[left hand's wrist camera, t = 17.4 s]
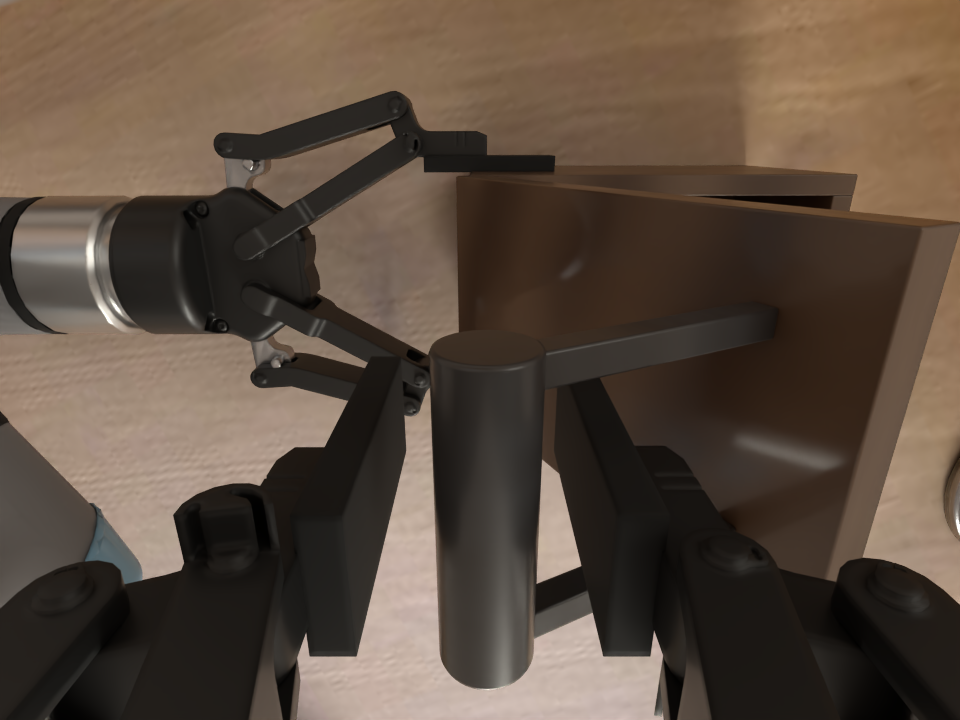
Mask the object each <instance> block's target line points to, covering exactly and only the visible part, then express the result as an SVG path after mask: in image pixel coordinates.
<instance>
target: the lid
mask: <svg viewBox="0 0 960 720" xmlns="http://www.w3.org/2000/svg"><path fill="white" fill-rule="evenodd" d="M959 232H960V223H959V222H953V221H943V220H932V219H922V218H912V217H902V216H892V215H881V214H871V213H861V212H851V211H840V210H830V209H820V208H810V207H799V206H789V205H779V204H769V203H758V202H748V201H738V200H728V199H718V198H707V197H697V196H687V195H677V194H666V193H656V192H646V191H636V190H625V189H615V188H605V187H595V186H584V185H574V184H564V183H554V182H543V181H533V180H523V179H513V178H503V177H492V176H457V241H458V306H459V333H455V334H451V335H448V336H445V337H443V338H440V339H439V340H437V341H436V342H434V343H433V344H432V346H431V348H430V351H429V367H430V395H431V423H432V451H433V479H434V506H435V534H436V562H437V590H438V618H439V646H440V656H441V660H442V663H443V665H444V667H445V668H446V670H447V671H448V672H449V674H450V675H451V676H452V677H453V678H454V679H455V680H457V681H458V682H460V683H461V684H463V685H465V686H468V687H471V688H474V689H479V690H495V689H500V688H504V687H506V686H509V685H511V684H512V683H514V682H516V681H517V680H518V679H520V678H521V677H522V676H523V674H524V673H525V672H526V671H527V669H528V668H529V666H530V664H531V661H532V658H533V650H534V639H535V638H537V637H539V636H541V635H544V634H546V633H548V632H550V631H553V630H555V629H557V628H559V627H561V626H564V625H566V624H568V623H570V622H573V621H575V620H577V619H579V618H582V617H584V616H586V615H588V614H591V613H593V611H592V607H591V603H590V599H589V594H588V590H587V586H586V582H585V578H584V574H583V570H582V566H581V567H578V568H576V569H573V570H571V571H568V572H565V573H563V574H560V575H558V576H555V577H553V578H550V579H548V580H545V581H543V582H540V583H538V584H536V582H537V559H538V536H539V513H540V490H541V467H542V460H544V461H545V462H546V463H547V464H548V465H549V466H551V467H552V468H553V469H554V470H555V471H557V472H558V473H559V470H558V466H557V462H556V458H555V454H554V438H555V419H556V400H557V387H561V386H565V385H570V384H574V383H579V382H583V381H588V380H592V379H597V378H600V379H601V381H602V383H603V385H604V387H605V389H606V391H607V393H608V395H609V397H610V399H611V401H612V403H613V405H614V407H615V409H616V411H617V412H618V414H619V416H620V418H621V420H622V422H623V424H624V426H625V428H626V430H627V432H628V434H629V436H630V438H631V440H632V442H633V444H634V446H666V447H668V448H669V449H671V450H672V451H674V452H675V453H676V454H678V455H679V456H681V457H682V458H683V459H684V460H685V461H686V463H687V464H688V466H689V468H690V469H691V471H692V472H693V474H694V477H696V478H697V480H698V481H699V483H700V484H701V486H702V490H704V491H705V492H706V494H707V495H708V497H709V498H710V500H711V501H712V503H713V505H714V506H715V508H716V509H717V511H718V512H719V514H720V515H721V517H722V518H723V520H724V521H725V523H726V525H727V526H728V528H729V529H730V531H734V532H738V533H740V534H742V535H744V536H746V537H749V538H751V539H753V540H755V541H756V542H757V543H759V544H760V545H761V546H762V547H764V548H765V549H766V550H768V552H769V553H770V555H771V556H772V558H773V559H774V560H775V562H776V564H777V566H778V568H780V569H784V570H787V571H791V572H794V573H798V574H803V575H807V576H812V577H817V578H821V579H826V580H830V581H835V582H836V580H837V576H838V573H839V569H840V567H841V566H843V565H844V564H845V563H846V562H847V561H849V560H854V559H859V558H862V557H863V553H864V550H865V547H866V543H867V540H868V536H869V533H870V530H871V526H872V523H873V520H874V516H875V513H876V510H877V506H878V503H879V500H880V496H881V493H882V490H883V486H884V483H885V480H886V476H887V473H888V470H889V466H890V463H891V459H892V456H893V453H894V449H895V446H896V443H897V439H898V436H899V433H900V429H901V426H902V423H903V419H904V416H905V413H906V409H907V406H908V403H909V399H910V396H911V392H912V389H913V386H914V382H915V379H916V376H917V372H918V369H919V366H920V362H921V359H922V356H923V352H924V349H925V346H926V342H927V339H928V336H929V332H930V329H931V325H932V322H933V319H934V315H935V312H936V309H937V305H938V302H939V299H940V295H941V292H942V289H943V285H944V282H945V279H946V275H947V272H948V269H949V265H950V262H951V258H952V255H953V252H954V248H955V245H956V242H957V238H958V235H959Z"/></svg>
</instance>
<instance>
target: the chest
mask: <svg viewBox="0 0 960 720" xmlns="http://www.w3.org/2000/svg"><path fill="white" fill-rule="evenodd" d="M470 176H492V177H503V178H513V179H523V180H533V181H543V182H554V183H564V184H574V185H584V186H595V187H605V188H615V189H625V190H636V191H646V192H656V193H666V194H677V195H687V196H697V197H707V198H718V199H728V200H738V201H748V202H758V203H769V204H779V205H789V206H799V207H810V208H820V209H830V210H840V211H849V210H850V206H851V201H852V196H851V195H853V193H854V189H855V185H856V180H857V174H845V173H832V172H820V171H807V170H795V169H782V168H770V167H758V166H555V170H554V171H489V172H471V174H470Z"/></svg>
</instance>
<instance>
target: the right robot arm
mask: <svg viewBox="0 0 960 720" xmlns="http://www.w3.org/2000/svg"><path fill="white" fill-rule="evenodd" d="M390 124H391V127H392V129H393V132H394V134H395V137H396V138H395V139H393V140H392V141H390V142H388V143H387V144H385V145H384V146H382V147H381V148H379V149H378V150H376V151H375V152H373V153H371V154H370V155H368V156H367V157H365V158H364V159H362V160H361V161H359V162H357V163H356V164H354V165H353V166H351V167H350V168H348V169H347V170H345V171H343V172H342V173H340V174H339V175H337V176H336V177H334V178H333V179H331V180H329V181H328V182H326V183H325V184H323V185H322V186H320V187H319V188H317V189H315V190H314V191H312V192H311V193H309V194H308V195H306V196H305V197H303V198H301V199H299V200H298V201H296V202H294V203H292V204H291V205H289V206H287V207H286V208H284V209H283V208H282V207H280V206H279V205H277V204H276V203H275V202H273V201H272V200H270V199H269V198H267V197H266V196H264V195H263V194H261V193H260V192H258V191H257V190H255V189H254V188H252V185H253V181H254V179H255V178H256V177H258V176H260V175H264V174H266V173H268V172H269V170H270V168H271V159H281V158H287V157H291V156H294V155H297V154H300V153H304V152H307V151H310V150H313V149H316V148H319V147H322V146H325V145H328V144H331V143H334V142H338V141H341V140H344V139H347V138H350V137H353V136H356V135H359V134H362V133H365V132H368V131H372V130H375V129H378V128H381V127H384V126H387V125H390ZM214 148H215V151H216V152H217V153H218V155H220V156H221V157H223V158H224V160H225V171H226V182H227V188H225V189H223V190H222V191H220V192H219V193H217V194H215V195H209V196H139V197H136V198H134V199H132V198H129V197H126V196H47V197H33V198H16V197H0V335H10V334H142V333H144V332H149V333H153V334H223V333H228V334H234V335H237V336H239V337H242V338H244V339H246V340H248V341H251V345H252V350H253V354H254V359H255V363H256V369H255V370H254V371H253V372H252V373H251V381H252V383H253V384H254V385H255V386H257V387H259V388H272V387H288V386H293V387H297V388H300V389H304V390H308V391H312V392H316V393H320V394H324V395H328V396H332V397H335V398H339V399H343V400H347V401H349V399H350V397H351V395H352V393H353V391H354V389H355V387H356V385H357V383H358V381H359V379H360V377H361V376H362V374H363V372H364V370H365V368H362V367H358V366H354V365H351V364H347V363H343V362H339V361H335V360H332V359H328V358H324V357H320V356H316V355H312V354H307V353H294V350H293V348H292V347H291V346H288V345H283V344H280V343H278V342H277V341H276V340H275V339H274V337H273V334H275V333H276V332H277V331H279V330H280V329H281V328H283V327H284V326H285V325H288V326H289V327H291V328H293V329H295V330H297V331H299V332H301V333H303V334H305V335H308V336H311V337H319V338H321V339H323V340H325V341H327V342H329V343H331V344H333V345H335V346H337V347H338V348H340V349H342V350H344V351H346V352H348V353H350V354H352V355H354V356H356V357H358V358H360V359H362V360H364V361H366V362H369V360H370V358H371V356H401V363H402V382H403V400H404V415H405V416H415V415H416V414H418V413H419V411H420V408H421V404H422V401H423V399H424V396H425V393H426V391H427V390H428V389H429V388H430V367H429V354H428V355H427V354H425V353H423V352H421V351H419V350H417V349H415V348H413V347H411V346H410V345H408V344H406V343H404V342H402V341H400V340H398V339H396V338H394V337H392V336H391V335H389V334H387V333H385V332H383V331H381V330H379V329H377V328H375V327H374V326H372V325H370V324H368V323H366V322H364V321H362V320H360V319H358V318H357V317H355V316H353V315H351V314H349V313H347V312H345V311H343V310H341V309H339V308H338V307H336V305H335V304H334V303H333V302H332V301H330V300H329V299H327V298H325V297H323V296H321V295H319V294H317V292H318V291H319V290H320V280H319V275H318V272H317V269H316V267H315V264H314V259H315V253H316V242H315V235H311V232H310V230H309V229H308V226H310V225H311V224H313V223H314V222H316V221H318V220H319V219H321V218H322V217H324V216H325V215H327V214H328V213H330V212H331V211H333V210H334V209H336V208H337V207H339V206H341V205H342V204H344V203H345V202H347V201H349V200H350V199H352V198H353V197H355V196H356V195H358V194H360V193H361V192H363V191H364V190H366V189H368V188H369V187H371V186H372V185H374V184H376V183H377V182H379V181H380V180H382V179H383V178H385V177H387V176H388V175H390V174H391V173H393V172H395V171H396V170H398V169H399V168H401V167H402V166H404V165H406V164H407V163H409V162H410V161H412V160H414V159H415V158H417V157H424V172H489V171H554V170H555V156H552V155H487V135H484V134H482V133H480V132H477V131H426V130H424V129H423V128H422V127H421V126H420V125H419V123H418V121H417V118H416V116H415V113H414V110H413V108H412V103H411V101H410V100H409V99H408V98H407V97H406V96H405V95H403V94H401V93H400V92H397V91H390V92H387V93H384V94H381V95H378V96H375V97H372V98H369V99H366V100H363V101H360V102H357V103H354V104H351V105H348V106H345V107H342V108H339V109H336V110H333V111H330V112H327V113H324V114H321V115H318V116H315V117H312V118H309V119H306V120H303V121H299V122H296V123H293V124H290V125H287V126H284V127H281V128H278V129H275V130H272V131H269V132H266V133H263V134H260V135H258V134H243V133H220V134H218V135H217V136H216V137H215V139H214ZM95 560H99V561H105V562H110V563H113V564H114V565H115V566H116V567H118V568H119V569H120V570H121V573H122V576H123V580H124V583H125V584H127V583H132V582H136V581H141V580H142V568H141V565H140V563H139V561H138V559H137V558H136V557H135V556H134V554H133V553H132V552H131V551H130V549H129V548H128V547H127V545H126V544H125V543H124V542H123V540H122V539H121V538H120V537H119V535H118V534H117V533H116V531H115V530H114V529H113V528H112V526H111V525H110V524H109V523H108V521H107V520H106V519H105V518H104V515H103V514H102V512H101V509H99V508H98V507H96V505H95V504H94V503H88V502H87V501H86V500H85V499H84V498H83V497H82V496H81V495H80V494H79V493H78V492H77V491H76V490H75V489H74V488H73V487H72V486H71V485H70V483H69V482H68V481H67V480H66V479H65V478H64V477H63V476H62V475H61V474H60V473H59V472H58V471H57V470H56V469H55V468H54V467H53V466H52V465H51V464H50V463H49V462H48V461H47V460H46V459H45V458H44V457H43V456H42V455H41V454H40V453H39V452H38V451H37V450H36V449H35V448H34V447H33V446H32V445H31V444H30V443H29V442H28V441H27V440H26V439H25V438H24V437H23V436H22V435H21V434H20V433H19V432H18V431H17V430H16V429H15V428H14V427H13V426H12V425H11V424H10V423H9V421H8V419H7V418H6V417H5V416H4V415H3V414H2V413H1V412H0V608H1V607H2V606H3V605H4V604H6V603H7V602H8V601H9V600H10V599H11V598H12V597H13V596H14V595H15V594H16V593H17V592H19V591H20V590H22V589H23V588H24V587H26V586H27V585H28V584H30V583H31V582H32V581H34V580H35V579H37V578H39V577H41V576H43V575H45V574H47V573H49V572H51V571H53V570H55V569H57V568H60V567H63V566H67V565H70V564H74V563H77V562H85V561H95Z"/></svg>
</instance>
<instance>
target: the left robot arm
mask: <svg viewBox="0 0 960 720" xmlns="http://www.w3.org/2000/svg"><path fill="white" fill-rule="evenodd" d="M405 454H406V438H405V419H404V400H403V382H402V363H401V356H371V358H370V360H369V362H368V364H367V366H366V368H365V370H364V372H363V374H362V376H361V377H360V379H359V381H358V383H357V385H356V387H355V389H354V391H353V393H352V395H351V397H350V399H349V401H348V403H347V405H346V407H345V409H344V411H343V412H342V414H341V416H340V418H339V420H338V422H337V424H336V426H335V428H334V430H333V432H332V434H331V436H330V438H329V440H328V442H327V444H326V446H325V447H295V448H293V449H292V450H291V451H289V452H288V453H286V454H285V455H284V456H282V457H281V458H279V459H278V460H277V461H276V462H275V464H274V465H273V467H272V468H271V470H270V471H269V473H268V475H267V479H264V481H263V482H262V484H261V485H260V486H258V485H254V484H250V483H239V484H228V485H223V486H218V487H214V488H212V489H209V490H206V491H204V492H201V493H199V494H197V495H195V496H194V497H192V498H191V499H189V500H188V501H186V502H184V503H183V504H182V505H181V506H180V507H179V509H178V510H177V511H176V512H175V513H174V515H173V516H174V521H175V525H176V529H177V534H178V538H179V542H180V546H181V551H182V555H183V559H184V565H183V567H182V570H181V571H178V572H174V573H171V574H167V575H164V576H159V577H155V578H150V579H145V580H141V581H136V582H132V583H127V584H125V583H124V580H123V576H122V573H121V570H120V569H119V568H118V567H116V566H115V565H114V564H113V563H110V562H105V561H99V560H95V561H85V562H77V563H74V564H70V565H67V566H63V567H60V568H57V569H55V570H53V571H51V572H49V573H47V574H45V575H43V576H41V577H39V578H37V579H35V580H34V581H32V582H31V583H30V584H28V585H27V586H26V587H24V588H23V589H22V590H20V591H19V592H17V593H16V594H15V595H14V596H13V597H12V598H11V599H10V600H9V601H8V602H7V603H6V604H4V605H3V606H2V607H1V608H0V720H296V718H297V708H298V698H299V689H300V674H299V667H298V661H297V656H298V653H299V651H300V648H301V645H302V642H303V639H304V637H305V634H307V641H308V648H309V655H310V656H357V652H358V648H359V644H360V640H361V636H362V632H363V628H364V623H365V619H366V615H367V611H368V607H369V603H370V599H371V594H372V590H373V586H374V582H375V578H376V574H377V570H378V565H379V561H380V557H381V553H382V549H383V545H384V541H385V536H386V532H387V528H388V524H389V520H390V516H391V512H392V507H393V503H394V499H395V495H396V491H397V487H398V483H399V478H400V474H401V470H402V466H403V462H404V458H405ZM554 454H555V458H556V462H557V466H558V470H559V474H560V478H561V483H562V487H563V491H564V495H565V499H566V503H567V507H568V512H569V516H570V520H571V524H572V528H573V532H574V536H575V541H576V545H577V549H578V553H579V557H580V561H581V565H582V570H583V574H584V578H585V582H586V586H587V590H588V594H589V599H590V603H591V607H592V611H593V615H594V619H595V623H596V628H597V632H598V636H599V640H600V644H601V648H602V652H603V656H650V655H651V648H652V641H653V634H654V631H655V634H656V637H657V639H658V642H659V645H660V648H661V651H662V653H663V661H662V667H661V674H660V680H659V686H658V693H657V699H656V706H655V713H654V715H655V716H660V717H662V712H663V716H664V720H960V605H959V604H958V603H957V602H956V601H955V600H954V599H953V598H952V597H951V596H950V595H949V594H947V593H946V592H945V591H944V590H943V589H942V588H940V587H939V586H937V585H936V584H935V583H933V582H932V581H931V580H929V579H928V578H927V577H925V576H923V575H921V574H919V573H917V572H915V571H913V570H911V569H909V568H907V567H905V566H902V565H899V564H896V563H892V562H889V561H885V560H880V559H870V558H859V559H854V560H849V561H847V562H846V563H845V564H844V565H843V566H841V567H840V569H839V573H838V576H837V580H836V582H835V581H830V580H826V579H821V578H817V577H812V576H807V575H803V574H798V573H794V572H791V571H787V570H784V569H780V568H778V566H777V564H776V562H775V560H774V559H773V558H772V556H771V555H770V553H769V552H768V550H766V549H765V548H764V547H762V546H761V545H760V544H759V543H757V542H756V541H755V540H753V539H751V538H749V537H746V536H744V535H742V534H740V533H738V532H734V531H730V529H729V528H728V526H727V525H726V523H725V521H724V520H723V518H722V517H721V515H720V514H719V512H718V511H717V509H716V508H715V506H714V505H713V503H712V501H711V500H710V498H709V497H708V495H707V494H706V492H705V491H704V490H702V486H701V484H700V483H699V481H698V480H697V478H696V477H694V474H693V472H692V471H691V469H690V468H689V466H688V464H687V463H686V461H685V460H684V459H683V458H682V457H681V456H679V455H678V454H676V453H675V452H674V451H672V450H671V449H669V448H668V447H666V446H634V444H633V442H632V440H631V438H630V436H629V434H628V432H627V430H626V428H625V426H624V424H623V422H622V420H621V418H620V416H619V414H618V412H617V411H616V409H615V407H614V405H613V403H612V401H611V399H610V397H609V395H608V393H607V391H606V389H605V387H604V385H603V383H602V381H601V379H600V378H597V379H592V380H588V381H583V382H579V383H574V384H570V385H565V386H561V387H557V400H556V419H555V438H554ZM944 510H945V516H946V520H947V523H948V525H949V527H950V529H951V531H952V532H953V534H954V535H955V537H956V538H957V539H958V540H959V541H960V458H959V459H958V461H957V463H956V464H955V466H954V468H953V470H952V472H951V475H950V477H949V480H948V483H947V486H946V491H945V498H944Z"/></svg>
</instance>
